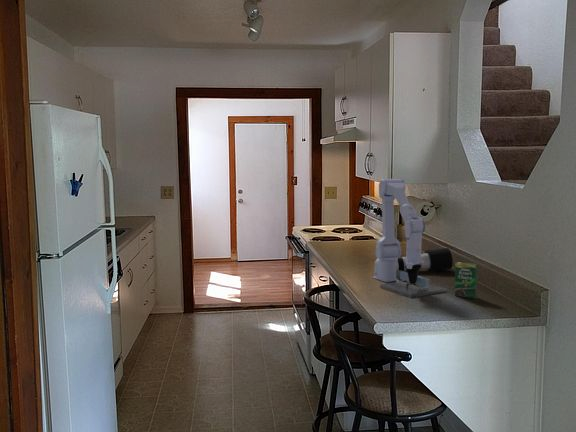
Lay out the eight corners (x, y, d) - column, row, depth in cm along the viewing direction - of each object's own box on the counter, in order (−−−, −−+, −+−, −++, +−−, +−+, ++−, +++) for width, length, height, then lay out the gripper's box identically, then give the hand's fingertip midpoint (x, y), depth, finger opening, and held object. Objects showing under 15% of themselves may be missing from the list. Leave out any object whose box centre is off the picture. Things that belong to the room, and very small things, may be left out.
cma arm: (394, 277, 224) (394, 270, 223) (399, 276, 225) (400, 270, 225) (424, 286, 209) (424, 279, 208) (430, 285, 210) (430, 278, 210)
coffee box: (453, 295, 208) (454, 262, 207) (455, 294, 211) (456, 261, 209) (474, 299, 204) (476, 265, 203) (476, 297, 207) (478, 263, 205)
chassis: (380, 287, 221) (380, 280, 221) (414, 281, 230) (415, 274, 230) (410, 297, 206) (411, 290, 205) (446, 291, 215) (446, 284, 215)
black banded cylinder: (378, 280, 252) (374, 259, 255) (447, 271, 254) (442, 251, 258) (382, 275, 243) (378, 253, 246) (454, 266, 245) (449, 245, 248)
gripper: (420, 253, 202) (418, 288, 204) (428, 247, 215) (426, 280, 217) (401, 251, 205) (400, 286, 207) (410, 245, 218) (409, 278, 220)
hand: (412, 283), depth 212 cm, fingers closed
